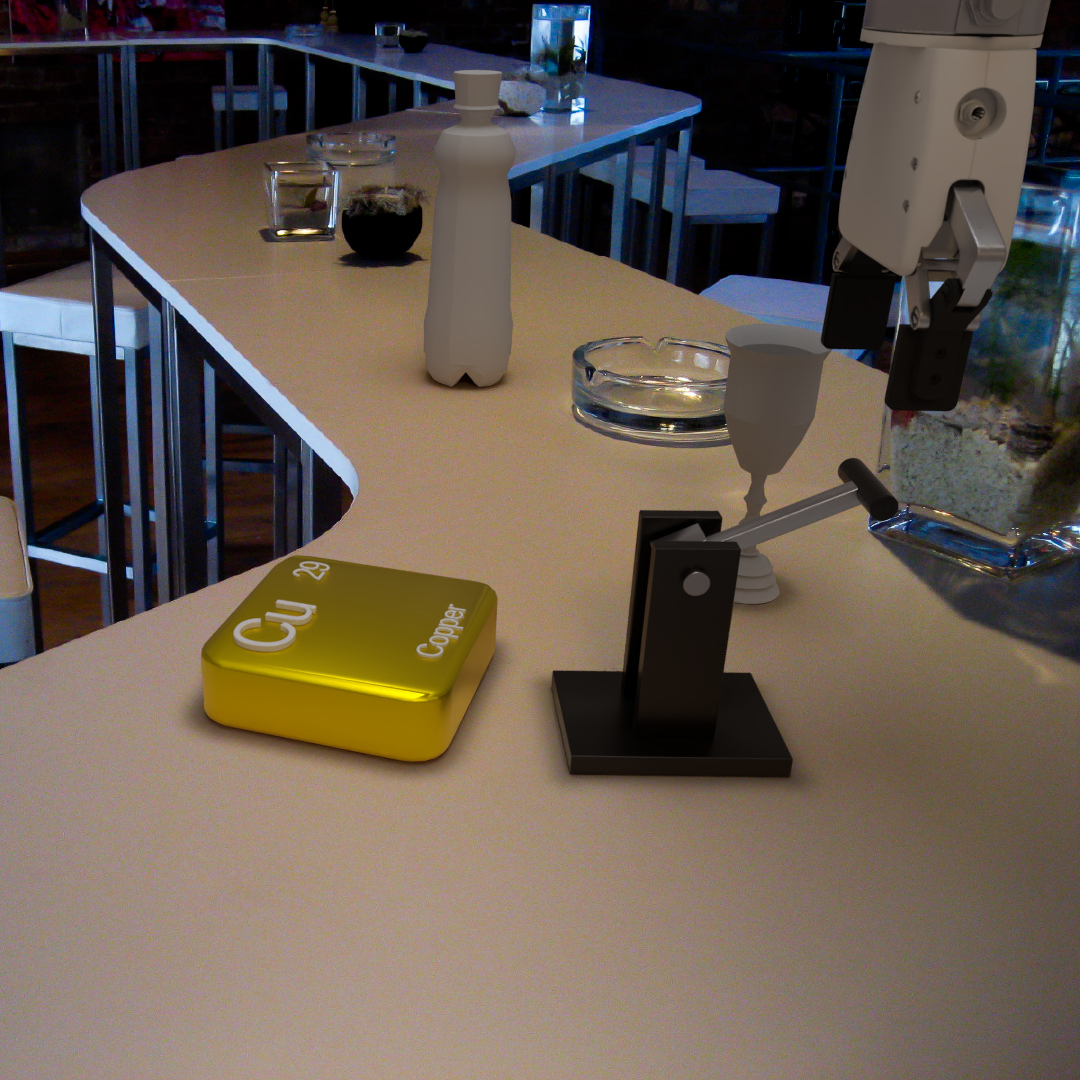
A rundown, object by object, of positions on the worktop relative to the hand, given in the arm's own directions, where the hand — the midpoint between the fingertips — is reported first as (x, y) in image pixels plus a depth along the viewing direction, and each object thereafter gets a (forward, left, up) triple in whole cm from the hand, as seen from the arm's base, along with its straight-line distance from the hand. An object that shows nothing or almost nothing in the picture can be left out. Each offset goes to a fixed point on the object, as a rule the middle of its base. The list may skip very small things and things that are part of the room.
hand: (882, 376), depth 64 cm
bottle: (+17, -65, -22) cm, 70 cm away
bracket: (+9, 0, -21) cm, 23 cm away
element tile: (+27, -5, -22) cm, 35 cm away
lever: (+4, 0, -9) cm, 10 cm away
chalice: (0, -18, -22) cm, 28 cm away
